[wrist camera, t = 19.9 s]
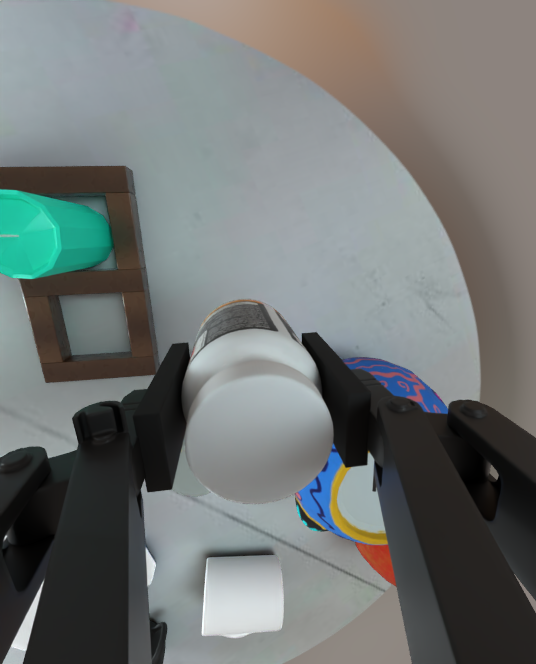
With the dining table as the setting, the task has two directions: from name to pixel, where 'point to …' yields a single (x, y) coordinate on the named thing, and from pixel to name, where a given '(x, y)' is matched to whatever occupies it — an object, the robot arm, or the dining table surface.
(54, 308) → the holder
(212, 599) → the mug
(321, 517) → the ceramic pot
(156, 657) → the mug
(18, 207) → the candle
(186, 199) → the dining table surface
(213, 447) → the pill bottle
